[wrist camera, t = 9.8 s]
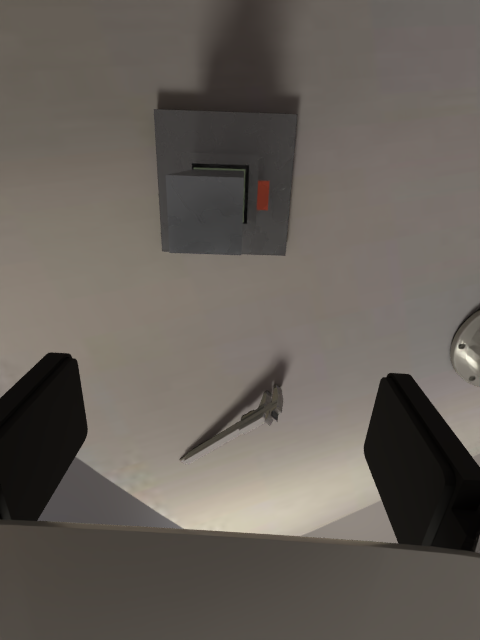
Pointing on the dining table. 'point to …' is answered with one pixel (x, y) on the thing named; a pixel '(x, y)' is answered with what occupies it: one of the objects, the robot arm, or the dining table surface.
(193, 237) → the block
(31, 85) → the dining table surface
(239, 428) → the caliper
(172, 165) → the base
